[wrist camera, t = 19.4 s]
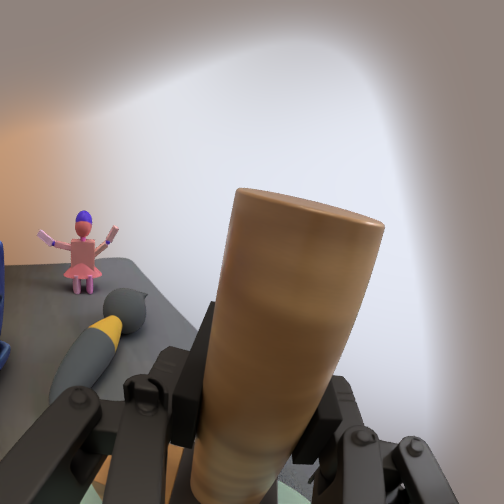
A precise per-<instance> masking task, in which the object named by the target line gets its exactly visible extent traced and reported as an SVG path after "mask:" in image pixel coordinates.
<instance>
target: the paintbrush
mask: <svg viewBox="0 0 504 504" xmlns="http://www.w3.org/2000/svg"><path fill="white" fill-rule="evenodd" d="M147 295H148V294H146V293H142V292H139V291H136V290H133V289H128V288H120V289H116V290H114V291H112V292H111V293H109V294H108V296H107V297H106V299H105V301H104V305H103V315H104V319H102V320H100V321H98V322H96V323H95V324H93V325H91V326H90V327H88V328H87V329H86V330H84V331H83V333H82V334H81V335H80V336H79V337H78V338H77V340H76V341H75V342H74V343H73V345H72V346H71V348H70V349H69V350H68V352H67V354H66V355H65V357H64V359H63V360H62V362H61V364H60V366H59V368H58V370H57V372H56V374H55V377H54V379H53V382H52V385H51V389H50V394H49V405H51V404H52V403H53V402H54V401H55V399H56V398H57V397H58V396H59V395H60V394H61V393H62V392H63V391H64V390H66V389H67V388H69V387H72V386H85V387H88V388H91V386H92V385H93V384H94V383H95V382H96V381H97V379H98V378H99V377H100V376H101V374H102V373H103V372H104V370H105V369H106V368H107V366H108V365H109V363H110V362H111V360H112V358H113V357H114V355H115V352H116V349H117V346H118V342H119V339H120V335H121V333H125V334H128V333H133V332H135V331H137V330H138V329H139V328H140V327H141V326H142V325H143V323H144V320H145V317H146V306H145V302H144V299H145V298H146V296H147Z"/></svg>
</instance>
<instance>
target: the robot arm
mask: <svg viewBox="0 0 504 504" xmlns="http://www.w3.org/2000/svg"><path fill="white" fill-rule="evenodd" d="M214 308H215V302H213V301H211V303H210V305H209V307H208V310H207V312H206V314H205V317H204V319H203V322H202V324H201V326H200V329H199V331H198V333H197V336H196V338H195V341H194V343H193V345H192V348H191V350H190V351H187V350H183V349H179V348H175V347H171V346H169V347H167V348H166V349H164V350H163V351H161V352H160V354H159V356H158V358H157V360H156V361H155V363H154V365H153V367H152V368H151V370H150V372H149V374H148V375H146V374H139V375H134V376H132V377H130V378H128V379H127V380H126V381H125V383H124V384H123V389H124V398H125V401H109V400H101V399H99V397H98V395H97V393H96V392H95V391H93V390H92V389H91V388H88V387H85V386H72V387H69V388H67V389H66V390H64V391H63V392H62V393H61V394H60V395H59V396H58V397H57V398H56V399H55V401H54V402H53V403H52V404H51V405H50V406H49V407H48V408H47V409H46V410H45V411H44V412H43V414H42V415H41V416H40V417H39V418H38V419H37V420H36V421H35V422H34V424H33V425H32V426H31V427H30V428H29V429H28V430H27V431H26V432H25V434H24V435H23V436H22V437H21V438H20V439H19V440H18V442H17V443H16V444H15V445H14V446H13V447H12V448H11V450H10V451H9V452H8V453H7V454H6V455H5V457H4V458H3V459H2V460H1V461H0V504H80V502H81V501H82V499H83V497H84V496H85V494H86V492H87V490H88V489H89V487H90V485H91V484H92V482H93V480H94V479H95V477H96V475H97V473H98V472H99V470H100V468H101V467H102V465H103V463H104V462H105V460H106V458H107V457H108V455H112V457H111V461H110V466H109V470H108V475H107V480H106V485H105V490H104V496H103V501H102V504H165V491H166V472H167V457H168V445H169V442H170V440H171V444H173V445H177V446H181V447H185V448H189V449H192V448H193V444H194V440H195V436H196V431H197V424H198V416H199V409H200V402H201V395H202V389H203V379H204V372H205V365H206V359H207V352H208V346H209V339H210V333H211V327H212V321H213V314H214ZM318 457H319V464H320V466H319V467H318V469H317V470H316V471H315V472H314V474H313V475H312V476H311V477H310V479H309V481H308V484H311V482H312V481H313V480H314V486H313V495H312V503H311V504H459V503H458V501H457V499H456V497H455V495H454V493H453V491H452V489H451V487H450V485H449V483H448V481H447V479H446V477H445V476H444V474H443V472H442V470H441V468H440V466H439V464H438V462H437V461H436V459H435V457H434V455H433V453H432V451H431V450H430V448H429V446H428V445H427V444H426V442H425V441H424V440H422V439H421V438H419V437H415V436H407V437H405V438H403V439H402V440H401V441H400V443H399V444H396V443H391V442H386V441H382V440H379V438H378V436H377V434H376V433H375V432H374V431H373V430H371V429H370V428H368V427H366V426H364V423H363V420H362V417H361V414H360V411H359V409H358V406H357V403H356V402H355V397H354V395H353V392H352V389H351V386H350V384H349V383H348V382H347V381H346V379H345V378H344V377H343V376H335V375H332V377H331V380H330V382H329V384H328V386H327V388H326V390H325V392H324V394H323V396H322V398H321V400H320V402H319V404H318V406H317V408H316V410H315V412H314V414H313V416H312V418H311V420H310V422H309V424H308V426H307V427H306V429H305V431H304V433H303V435H302V437H301V438H300V440H299V442H298V444H297V445H296V447H295V449H294V450H293V452H292V460H293V464H307V465H313V464H314V462H315V461H316V459H317V458H318ZM402 483H403V484H404V486H405V489H404V488H403V487H402V486H401V484H402Z"/></svg>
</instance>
